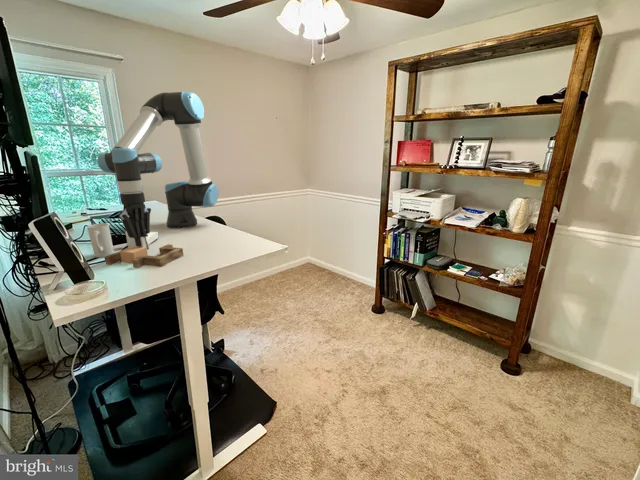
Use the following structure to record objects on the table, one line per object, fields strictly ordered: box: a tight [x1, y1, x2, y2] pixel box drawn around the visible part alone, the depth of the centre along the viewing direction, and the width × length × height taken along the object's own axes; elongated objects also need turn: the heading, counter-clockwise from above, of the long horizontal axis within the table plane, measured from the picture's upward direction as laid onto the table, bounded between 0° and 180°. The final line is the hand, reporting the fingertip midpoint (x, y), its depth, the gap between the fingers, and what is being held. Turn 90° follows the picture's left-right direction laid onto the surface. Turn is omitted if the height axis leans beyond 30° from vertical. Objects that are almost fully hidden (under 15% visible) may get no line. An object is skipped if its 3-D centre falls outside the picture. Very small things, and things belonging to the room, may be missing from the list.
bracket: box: [124, 230, 159, 248], centre depth 132 cm, size 13×7×8 cm, turn 6°
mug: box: [86, 222, 115, 258], centre depth 116 cm, size 10×7×12 cm, turn 22°
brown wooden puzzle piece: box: [103, 242, 184, 269], centre depth 115 cm, size 18×21×3 cm
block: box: [119, 246, 149, 264], centre depth 113 cm, size 6×6×4 cm
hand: (143, 253), depth 116 cm, fingers closed
